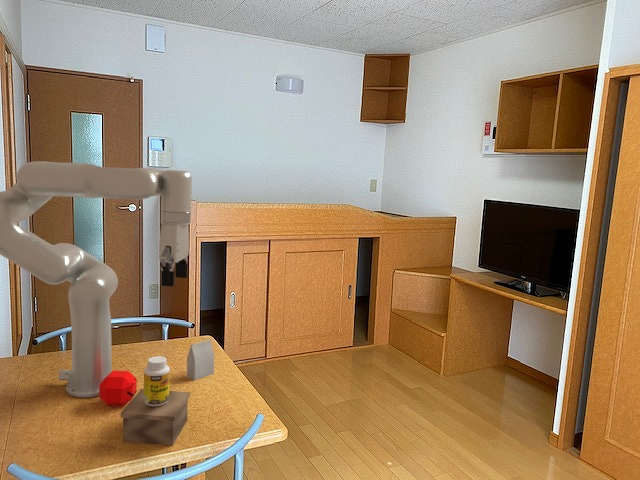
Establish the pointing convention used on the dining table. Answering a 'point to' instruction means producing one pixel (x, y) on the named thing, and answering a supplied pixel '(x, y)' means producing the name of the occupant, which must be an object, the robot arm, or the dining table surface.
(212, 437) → the dining table surface
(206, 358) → the white carton
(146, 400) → the supplement bottle
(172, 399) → the walnut box
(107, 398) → the ball
